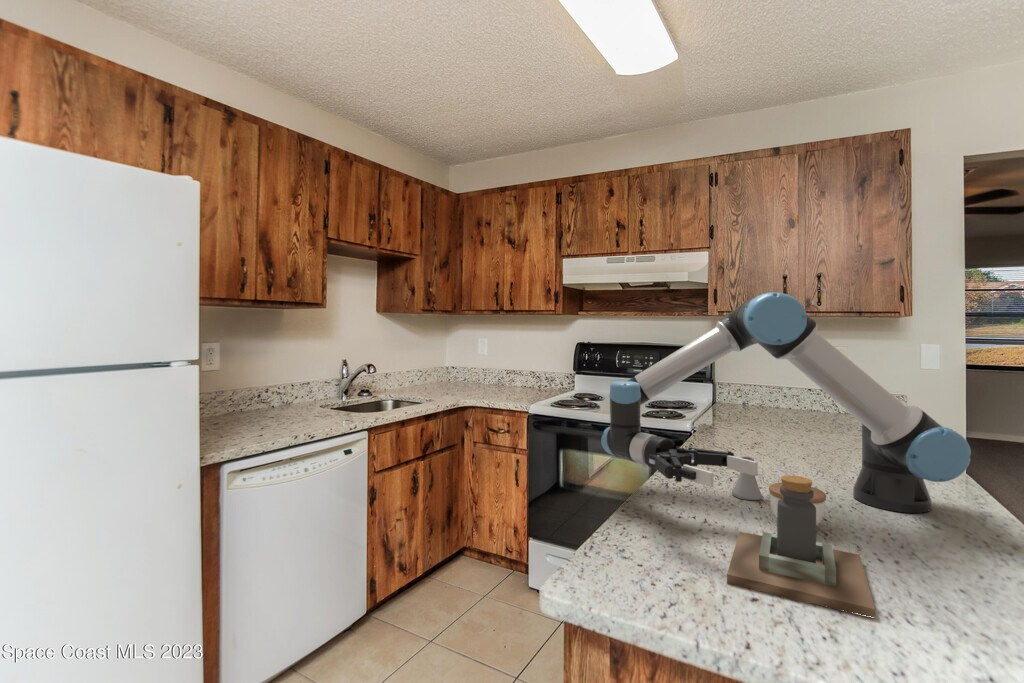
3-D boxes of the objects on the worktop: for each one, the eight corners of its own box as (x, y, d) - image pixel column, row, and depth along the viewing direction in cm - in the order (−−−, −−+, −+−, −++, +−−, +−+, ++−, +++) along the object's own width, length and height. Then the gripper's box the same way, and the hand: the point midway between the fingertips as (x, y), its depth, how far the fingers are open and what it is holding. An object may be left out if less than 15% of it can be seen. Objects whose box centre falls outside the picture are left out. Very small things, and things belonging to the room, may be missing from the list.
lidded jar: (806, 539, 97) (806, 493, 97) (758, 521, 107) (758, 479, 107) (836, 529, 102) (837, 485, 102) (787, 512, 112) (788, 472, 112)
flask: (756, 492, 126) (756, 454, 126) (767, 501, 119) (767, 461, 119) (727, 491, 127) (727, 453, 127) (737, 500, 120) (737, 461, 120)
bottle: (770, 556, 87) (770, 474, 86) (800, 555, 87) (800, 473, 87) (791, 572, 81) (792, 484, 81) (824, 571, 81) (824, 483, 81)
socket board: (859, 562, 87) (860, 541, 87) (874, 619, 70) (875, 592, 70) (739, 538, 98) (739, 519, 98) (726, 582, 81) (727, 559, 80)
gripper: (690, 460, 119) (773, 482, 100) (613, 475, 106) (691, 505, 88) (690, 430, 118) (773, 447, 100) (613, 442, 106) (691, 464, 88)
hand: (735, 474), depth 94 cm, fingers open, 13 cm apart
